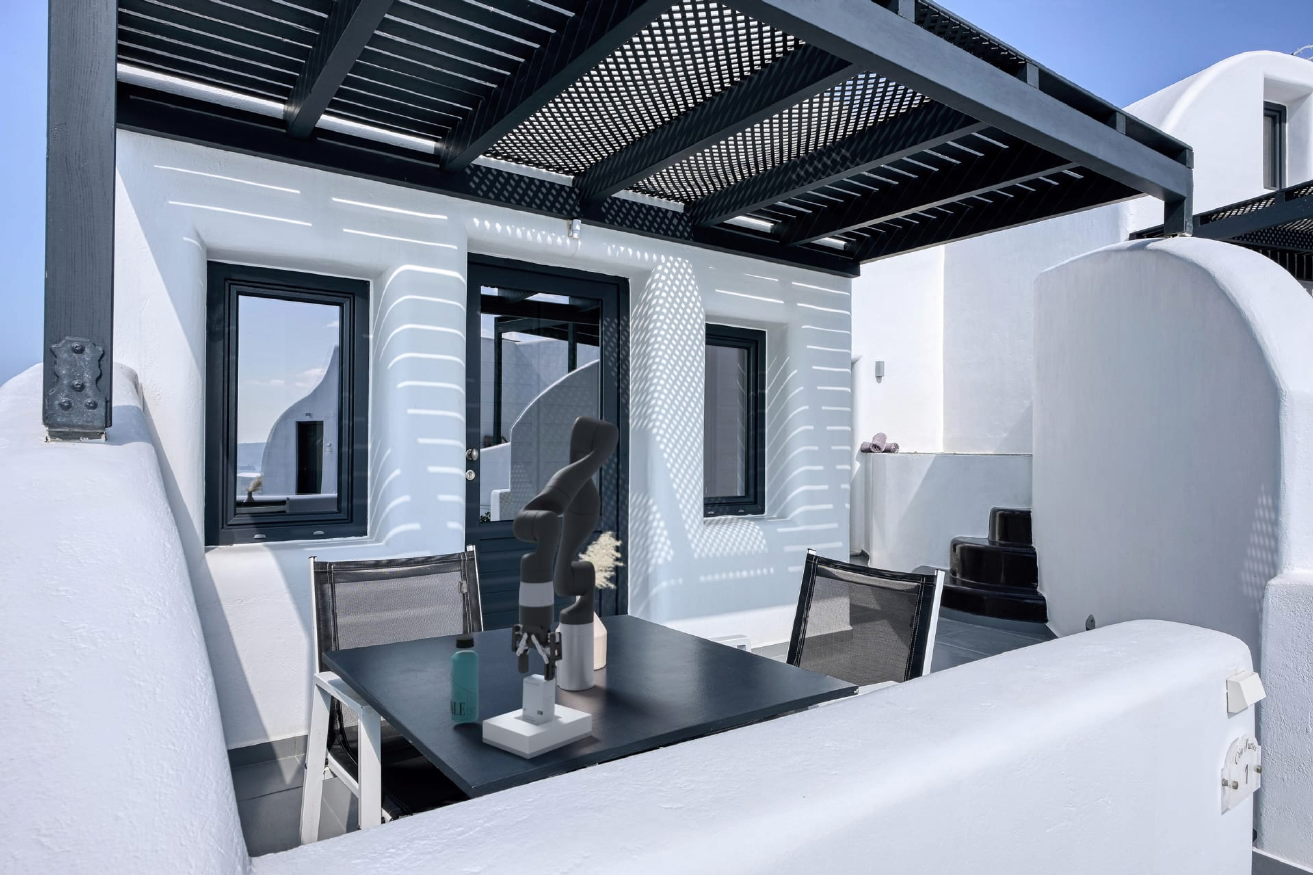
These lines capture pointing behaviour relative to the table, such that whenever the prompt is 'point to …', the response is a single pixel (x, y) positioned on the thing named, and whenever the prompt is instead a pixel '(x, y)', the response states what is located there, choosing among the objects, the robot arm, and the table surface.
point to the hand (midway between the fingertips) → (536, 676)
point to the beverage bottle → (464, 682)
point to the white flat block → (536, 731)
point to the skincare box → (538, 700)
